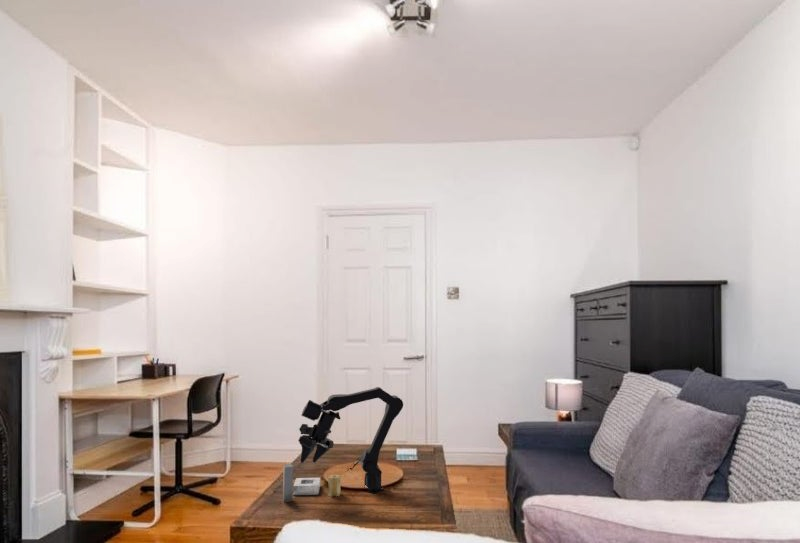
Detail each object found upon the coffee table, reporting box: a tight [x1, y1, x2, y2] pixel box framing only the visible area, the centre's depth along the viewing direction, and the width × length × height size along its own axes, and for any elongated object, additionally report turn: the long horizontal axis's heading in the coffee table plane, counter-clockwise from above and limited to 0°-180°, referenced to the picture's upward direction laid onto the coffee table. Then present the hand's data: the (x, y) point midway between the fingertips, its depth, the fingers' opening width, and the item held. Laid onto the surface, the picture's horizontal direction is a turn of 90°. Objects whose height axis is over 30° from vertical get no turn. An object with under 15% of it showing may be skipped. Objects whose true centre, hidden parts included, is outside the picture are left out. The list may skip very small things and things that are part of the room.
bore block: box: [293, 477, 321, 496], centre depth 212 cm, size 10×10×4 cm
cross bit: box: [327, 474, 341, 498], centre depth 207 cm, size 5×5×7 cm
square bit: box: [282, 463, 294, 503], centre depth 201 cm, size 3×3×13 cm
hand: (307, 462), depth 208 cm, fingers open, 9 cm apart
